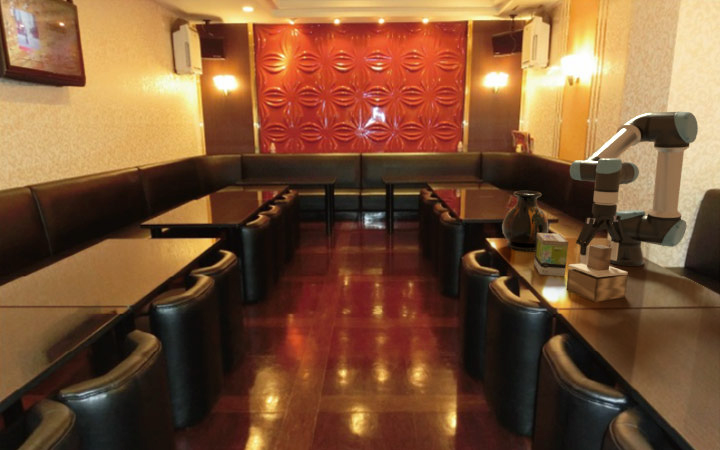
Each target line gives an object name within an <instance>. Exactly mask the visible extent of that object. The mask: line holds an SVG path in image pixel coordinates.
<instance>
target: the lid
mask: <svg viewBox="0 0 720 450" xmlns="http://www.w3.org/2000/svg"><path fill="white" fill-rule="evenodd" d="M567 267H568V268H570V269H576V270H579V271H582V272H584V273H587V274H590V275H592V276H595V277H605V276H616V275H628V271H626V270H624V269H623V270H622V269H620V268H616V267H613V266H611V265H609V270H601V271H598V270H595V269H592V268H589V267H587V265H585V264H582V263H572V264H571V263H570V264H568V265H567Z"/></svg>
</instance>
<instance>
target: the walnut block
mask: <svg viewBox="0 0 720 450" xmlns="http://www.w3.org/2000/svg"><path fill="white" fill-rule="evenodd" d="M589 247H590V248H589V258H588V265H587V267H589V268H592V269H595V270H598V271H601V270H609V266H611V263H610V259H611V252H612V248H610V247H609V246H606V245H604V244H603V245H602V244H592V245H591V244H589Z"/></svg>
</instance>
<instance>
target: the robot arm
mask: <svg viewBox="0 0 720 450" xmlns="http://www.w3.org/2000/svg"><path fill="white" fill-rule="evenodd" d="M698 127H699V126H698V121H697V117H696V116H695V115H694V114H693V113H692V112H689V111H665V112H646V113H643V114H640V115H637V116H635V117H632V118H631V119H629V120H628V121H626V122H625V123H623V124H622V125H620V126H619V127H618V128H617V129H616V133H615V134H613V135H612V137H610V138H609V139H608V140H607V141H606V142H604V143H603V144H601V146H599V148H597V149H596V150H595V151H594V152H593V153H591V154H590V155H589V156H588V157H587V158H585V159H584V160H583V159H580V160H574V161H572V162H571V164H570V168H569V175H570V178H571V179H572V180H577V181H581V182H583V181H585V182H593V183H594V188H593V190H594V191H593V201H592V202H593V203H592V208H591V209H592V210H591V213H592V215H593V217H586V218H585V221H584V224H583V226H582V229H581V231H580V233H579V235H578V237H577V239H576V241H575V244H577V245H579V247H580V251H579V254H580V259H579V261H580V262H579V264H581V263H582V264H585V265H588V258H589V248H590V243H591V242H592V240H594V238H595V236H596V235H597V233H599V232H600V231H603V230H606V231H607V233H608V235H609V237H610V244H609V245H608V247H610V248H612V252H611V259H610V264H614V265H617V266H618V265H619V266H627V267H639V266H643V265H644V259H645V258H644V255H643V250H642V243H646V244H652V245H657V246H662V247H668V248H669V247H670V248H674V247H677V246H678V245H679V244H680V243H681V242H682V240H683V238H684V236H685V234H686V230H687V221H686V220H685V219H682V213H681V212H680V211H679V210H678V208H679V199H680V198H679V197H680V189H681V180H682V172H683V164H684V162H683V161H684V155H685V154H684V153H685V151H686V150H687V149H689V148H690V144H692V143H693V142H695V141H696V139H697V136H698V131H699V128H698ZM644 142H645V143H646V142H647V143H653V147H654V149H655V150H656V151H657V160H656V168H655V169H656V170H655V178H654V179H655V180H654V190H653V199H652V208H651V209H650V210H648V212H647V214H646V211H645V210H642V209H641V210H639V209H628V210H627V209H626V210H618V211H617V208H618V205H617V203H619V202H618V201H619V194H620V193H619V190H620V185H628V184H631V183H634V182H635V181H637V179H638V177H639V174H640V170H639V167H638V166H637V165H636V164H635V163H633V162H628V161H626V162H622V160H621V159H620V158H619V157H620V156H621V155H622V154H623V153H625V152H626V151H627V150H628V149H630V147H634V146H636V145H638V144H639V143H644Z"/></svg>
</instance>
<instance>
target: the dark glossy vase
mask: <svg viewBox="0 0 720 450" xmlns="http://www.w3.org/2000/svg"><path fill="white" fill-rule="evenodd" d="M513 195H514V197H517V202H516V204H515V205H514V206H513V207H511V208H510V209H509V210H508V211H507V212H506V214H505V216H504V219H503V221H502V224H501V229H502V234H503V236H504V237H505V239H506V240H507V243H506V246H507V248H509V249H511V250H513V251H518V252H525V253H526V252H528V253H529V252H535V248H536V237H537V233H549V221H548V218H547V216H546V214H545V212H544V211H543V210H542V209H541V208H540V206H539V204H537V200H538V198H540V197H541V196H542V195H543V194H542V193H541V192H539V191H532V190H518V191H514V192H513Z"/></svg>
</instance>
